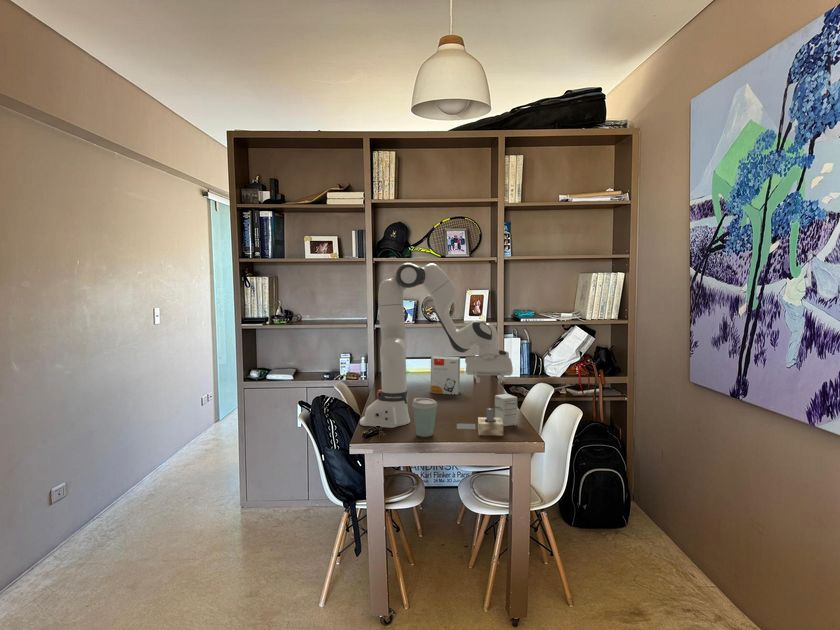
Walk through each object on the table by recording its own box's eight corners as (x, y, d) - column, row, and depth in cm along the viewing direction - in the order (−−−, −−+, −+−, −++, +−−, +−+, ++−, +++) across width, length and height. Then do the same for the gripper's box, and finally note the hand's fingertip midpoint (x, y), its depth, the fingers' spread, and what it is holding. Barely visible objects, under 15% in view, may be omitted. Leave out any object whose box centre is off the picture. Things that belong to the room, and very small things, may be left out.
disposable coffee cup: (436, 431, 224) (436, 396, 223) (438, 439, 214) (438, 402, 212) (411, 431, 224) (411, 396, 223) (412, 439, 213) (411, 403, 212)
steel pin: (486, 433, 221) (486, 409, 221) (486, 431, 224) (486, 408, 224) (493, 433, 221) (494, 409, 220) (493, 431, 224) (493, 408, 223)
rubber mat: (456, 429, 227) (456, 428, 227) (456, 424, 235) (456, 423, 235) (475, 430, 226) (475, 429, 226) (475, 424, 234) (475, 423, 234)
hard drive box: (430, 393, 295) (430, 357, 293) (433, 390, 302) (433, 355, 301) (457, 395, 291) (457, 358, 290) (460, 392, 299) (460, 356, 297)
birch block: (478, 435, 218) (478, 423, 218) (477, 428, 228) (477, 417, 228) (503, 436, 217) (503, 424, 217) (501, 429, 227) (501, 417, 227)
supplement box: (493, 422, 237) (494, 394, 236) (508, 421, 240) (508, 393, 239) (503, 427, 230) (503, 398, 229) (517, 425, 233) (517, 396, 232)
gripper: (465, 351, 235) (465, 377, 226) (512, 352, 233) (513, 378, 224) (465, 359, 240) (464, 385, 231) (511, 360, 238) (512, 386, 229)
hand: (489, 382), depth 228 cm, fingers open, 8 cm apart
